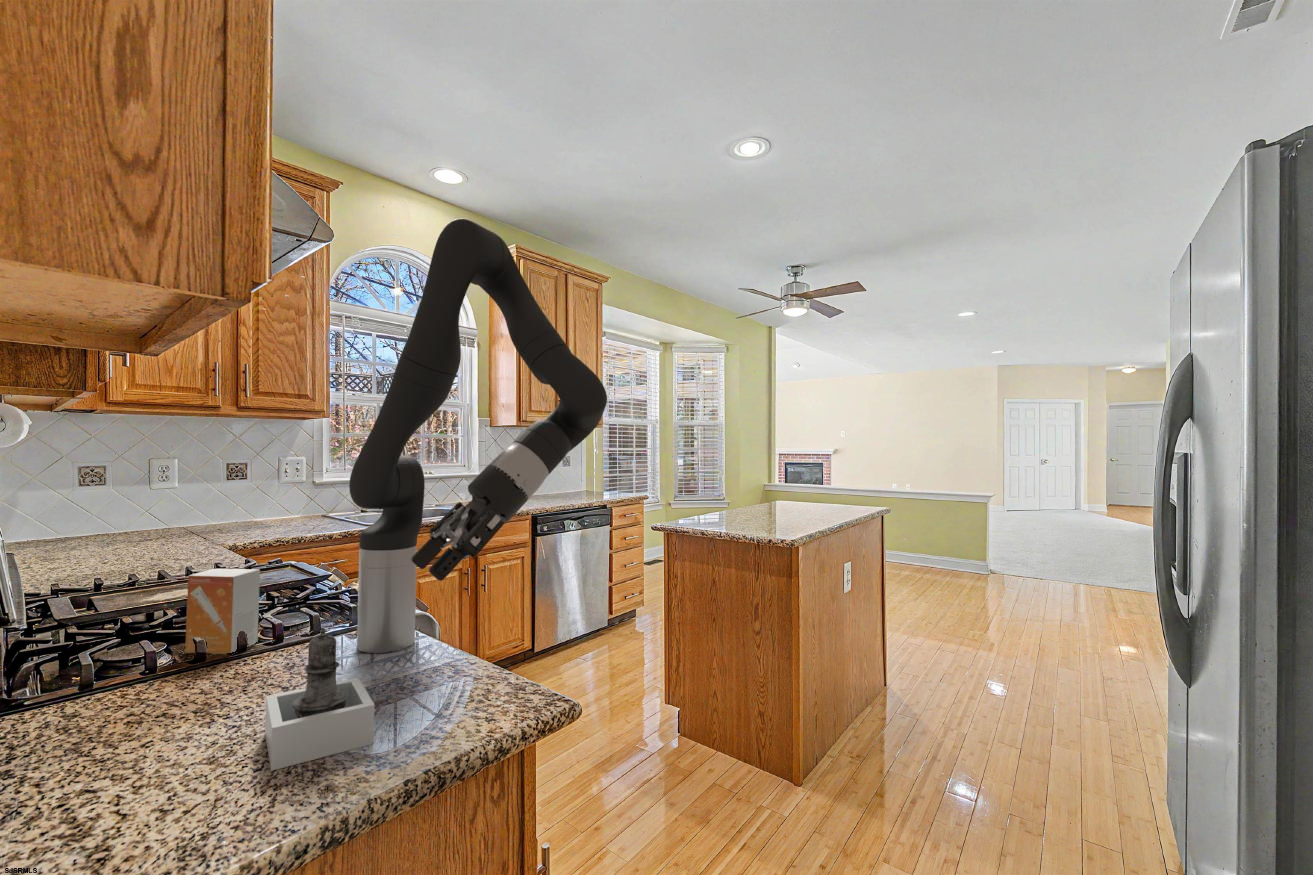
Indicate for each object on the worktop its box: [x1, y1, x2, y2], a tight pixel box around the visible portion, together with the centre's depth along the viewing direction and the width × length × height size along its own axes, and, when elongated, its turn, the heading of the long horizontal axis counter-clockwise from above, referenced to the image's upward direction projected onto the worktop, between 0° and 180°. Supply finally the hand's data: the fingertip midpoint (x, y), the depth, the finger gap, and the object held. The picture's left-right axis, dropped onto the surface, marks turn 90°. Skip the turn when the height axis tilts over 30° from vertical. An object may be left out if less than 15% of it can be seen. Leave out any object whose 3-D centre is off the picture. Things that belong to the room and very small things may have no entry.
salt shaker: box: [292, 626, 349, 718], centre depth 69 cm, size 6×6×12 cm
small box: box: [184, 568, 261, 655], centre depth 100 cm, size 8×6×13 cm
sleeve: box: [264, 677, 375, 772], centre depth 69 cm, size 10×10×4 cm
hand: (424, 570), depth 77 cm, fingers open, 8 cm apart
